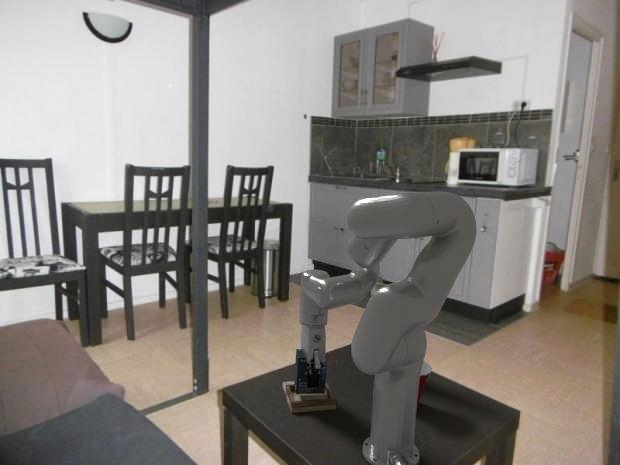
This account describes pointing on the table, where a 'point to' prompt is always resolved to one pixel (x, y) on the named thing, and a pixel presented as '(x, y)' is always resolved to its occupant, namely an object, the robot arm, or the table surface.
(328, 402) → the plate
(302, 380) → the box
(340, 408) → the table surface
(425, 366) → the plastic cup
